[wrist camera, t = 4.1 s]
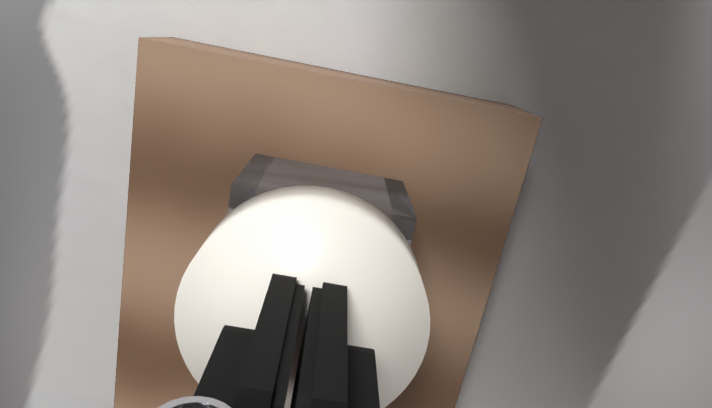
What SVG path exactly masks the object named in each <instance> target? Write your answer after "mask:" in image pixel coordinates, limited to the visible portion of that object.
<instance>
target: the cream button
mask: <svg viewBox="0 0 712 408" xmlns="http://www.w3.org/2000/svg"><path fill="white" fill-rule="evenodd" d="M273 273H274V274H279V275H285V276H291V277H297V280H296V284H300V285H305V289H304V295H303V301H302V307H301V313H300V319H299V325H298V331H297V337H296V342H295V348H294V354H293V360H292V366H291V372H290V378H289V384H288V390H287V395H286V401H285V406H284V408H290V405H291V399H292V393H293V388H294V383H295V377H296V372H297V367H298V361H299V356H300V351H301V346H302V340H303V335H304V330H305V325H306V319H307V314H308V309H309V303H310V298H311V293H312V288H313V287H317V288H322V285H323V282H326V283H332V284H338V285H344V286H347V345H352V346H358V347H365V348H371V349H374V351H375V358H376V369H377V380H378V391H379V402H380V408H385V407H386V406H388V405H389V404H390V403H391V402H392V401H394V400H395V399H396V398H397V397H398V396H399V395H400V394H401V393H402V392H403V391H404V390H405V388H406V387H407V386H408V385H409V383H410V382H411V380H412V379H413V378H414V376H415V375H416V373H417V371H418V369H419V367H420V365H421V363H422V361H423V358H424V355H425V352H426V350H427V345H428V340H429V335H430V311H429V303H428V299H427V296H426V292H425V288H424V285H423V282H422V278H421V275H420V272H419V268H418V265H417V262H416V259H415V256H414V254H413V252H412V249H411V247H410V245H409V243H408V242H407V240H406V238H405V237H404V235H403V234H402V232H401V231H400V230H399V229H398V227H397V226H396V225H395V224H394V223H393V222H392V221H391V220H390V219H389V218H388V217H387V216H386V215H385V214H384V213H383V212H381V211H380V210H378V209H377V208H376V207H374V206H373V205H372V204H370V203H368V202H366V201H364V200H362V199H361V198H359V197H357V196H354V195H351V194H349V193H346V192H344V191H340V190H336V189H332V188H328V187H320V186H291V187H284V188H279V189H275V190H271V191H267V192H264V193H262V194H260V195H257V196H255V197H252V198H250V199H249V200H247V201H245V202H244V203H242V204H240V205H238V206H237V207H236V208H235V209H233V210H232V211H231V212H229V213H228V214H227V215H226V216H225V217H224V218H223V219H222V220H221V221H220V222H219V223H218V224H217V225H216V227H215V228H214V230H213V231H212V232H211V234H210V235H209V236H208V238H207V239H206V241H205V242H204V244H203V245H202V246H201V248H200V249H199V251H198V252H197V254H196V255H195V257H194V258H193V259H192V261H191V262H190V264H189V266H188V267H187V269H186V271H185V273H184V275H183V277H182V280H181V283H180V285H179V288H178V291H177V296H176V302H175V307H174V325H175V333H176V339H177V343H178V346H179V350H180V353H181V355H182V357H183V359H184V362H185V364H186V366H187V368H188V369H189V371H190V373H191V374H192V376H193V377H194V379H195V380H196V381H197V382H198V384H199V382H200V379H201V377H202V375H203V373H204V370H205V368H206V366H207V363H208V361H209V359H210V356H211V354H212V352H213V349H214V347H215V345H216V342H217V340H218V338H219V335H220V333H221V331H222V329H223V327H224V325H229V326H235V327H241V328H248V329H254V330H255V328H256V324H257V321H258V318H259V315H260V312H261V309H262V305H263V302H264V299H265V296H266V293H267V290H268V287H269V283H270V280H271V277H272V274H273Z"/></svg>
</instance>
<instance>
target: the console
mask: <svg viewBox="0 0 712 408" xmlns="http://www.w3.org/2000/svg"><path fill="white" fill-rule="evenodd" d="M542 119H543V118H540V117H538V116H536V115H533V114H531V113H529V112H526V111H524V110H522V109H519V108H517V107H514V106H512V105H507V104H502V103H497V102H492V101H487V100H482V99H477V98H472V97H467V96H462V95H457V94H452V93H447V92H442V91H437V90H432V89H427V88H422V87H417V86H412V85H407V84H402V83H397V82H392V81H387V80H382V79H377V78H373V77H368V76H363V75H358V74H353V73H348V72H343V71H338V70H333V69H328V68H323V67H318V66H313V65H308V64H303V63H298V62H293V61H288V60H283V59H278V58H273V57H268V56H263V55H258V54H253V53H248V52H243V51H238V50H233V49H229V48H224V47H219V46H214V45H209V44H204V43H199V42H194V41H189V40H184V39H179V38H174V37H139V42H138V57H137V72H136V87H135V101H134V116H133V131H132V146H131V160H130V175H129V190H128V205H127V220H126V234H125V249H124V264H123V279H122V293H121V308H120V323H119V338H118V352H117V367H116V382H115V397H114V408H158V407H160V406H161V405H163V404H165V403H167V402H169V401H171V400H175V399H178V398H182V397H190V396H194V393H195V391H196V389H197V386H198V382H197V381H196V380H195V379H194V377H193V376H192V374H191V373H190V371H189V369H188V368H187V366H186V364H185V362H184V359H183V357H182V355H181V353H180V350H179V346H178V343H177V339H176V333H175V325H174V307H175V302H176V296H177V291H178V288H179V285H180V283H181V280H182V277H183V275H184V273H185V271H186V269H187V267H188V266H189V264H190V262H191V261H192V259H193V258H194V257H195V255H196V254H197V252H198V251H199V249H200V248H201V246H202V245H203V244H204V242H205V241H206V239H207V238H208V236H209V235H210V234H211V232H212V231H213V230H214V228H215V227H216V225H217V224H218V223H219V222H220V221H221V220H222V219H223V218H224V217H225V216H226V215H227V214H228V213H229V212H231V211H232V210H233V209H235V208H236V207H237V206H238V205H240V204H242V203H244V202H245V201H247V200H249V199H250V198H252V197H255V196H257V195H260V194H262V193H264V192H267V191H271V190H275V189H279V188H284V187H291V186H320V187H328V188H332V189H336V190H340V191H344V192H346V193H349V194H351V195H354V196H357V197H359V198H361V199H362V200H364V201H366V202H368V203H370V204H372V205H373V206H374V207H376V208H377V209H378V210H380V211H381V212H383V213H384V214H385V215H386V216H387V217H388V218H389V219H390V220H391V221H392V222H393V223H394V224H395V225H396V226H397V227H398V229H399V230H400V231H401V232H402V234H403V235H404V237H405V238H406V240H407V242H408V243H409V245H410V247H411V249H412V252H413V254H414V256H415V259H416V262H417V265H418V268H419V272H420V275H421V278H422V282H423V285H424V288H425V292H426V296H427V299H428V303H429V311H430V335H429V340H428V345H427V350H426V352H425V355H424V358H423V361H422V363H421V365H420V367H419V369H418V371H417V373H416V375H415V376H414V378H413V379H412V380H411V382H410V383H409V385H408V386H407V387H406V388H405V390H404V391H403V392H402V393H401V394H400V395H399V396H398V397H397V398H396V399H395V400H394V401H392V402H391V403H390V404H389V405H388V406H386V407H385V408H455V405H456V401H457V398H458V395H459V391H460V388H461V385H462V382H463V378H464V375H465V372H466V368H467V365H468V362H469V359H470V355H471V352H472V349H473V345H474V342H475V339H476V336H477V332H478V329H479V326H480V322H481V319H482V316H483V313H484V309H485V306H486V303H487V299H488V296H489V293H490V290H491V286H492V283H493V280H494V276H495V273H496V270H497V267H498V263H499V260H500V257H501V253H502V250H503V247H504V244H505V240H506V237H507V234H508V230H509V227H510V224H511V220H512V217H513V214H514V211H515V207H516V204H517V201H518V197H519V194H520V191H521V188H522V184H523V181H524V178H525V174H526V171H527V168H528V165H529V161H530V158H531V155H532V151H533V148H534V145H535V142H536V138H537V135H538V132H539V128H540V125H541V122H542Z"/></svg>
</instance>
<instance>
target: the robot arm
mask: <svg viewBox="0 0 712 408" xmlns="http://www.w3.org/2000/svg"><path fill="white" fill-rule="evenodd" d="M296 280H297V277H291V276H285V275H279V274H274V273H273V274H272V277H271V280H270V283H269V287H268V290H267V293H266V296H265V299H264V302H263V305H262V309H261V312H260V315H259V318H258V321H257V324H256V328H255V330H254V329H248V328H241V327H235V326H229V325H224V327H223V329H222V331H221V333H220V335H219V338H218V340H217V342H216V345H215V347H214V349H213V352H212V354H211V356H210V359H209V361H208V363H207V366H206V368H205V370H204V373H203V375H202V377H201V379H200V382H199V384H198V386H197V389H196V391H195V393H194V396H190V397H182V398H178V399H175V400H171V401H169V402H167V403H165V404H163V405H161V406H160V407H158V408H284V406H285V401H286V395H287V390H288V384H289V378H290V372H291V366H292V360H293V354H294V348H295V342H296V337H297V331H298V325H299V319H300V313H301V307H302V301H303V295H304V289H305V285H300V284H296ZM290 408H380V402H379V391H378V380H377V369H376V358H375V351H374V349H371V348H365V347H358V346H352V345H347V286H344V285H338V284H332V283H326V282H323V285H322V288H317V287H313V288H312V293H311V298H310V303H309V309H308V314H307V319H306V325H305V330H304V335H303V340H302V346H301V351H300V356H299V361H298V367H297V372H296V377H295V383H294V388H293V393H292V399H291V405H290Z"/></svg>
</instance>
